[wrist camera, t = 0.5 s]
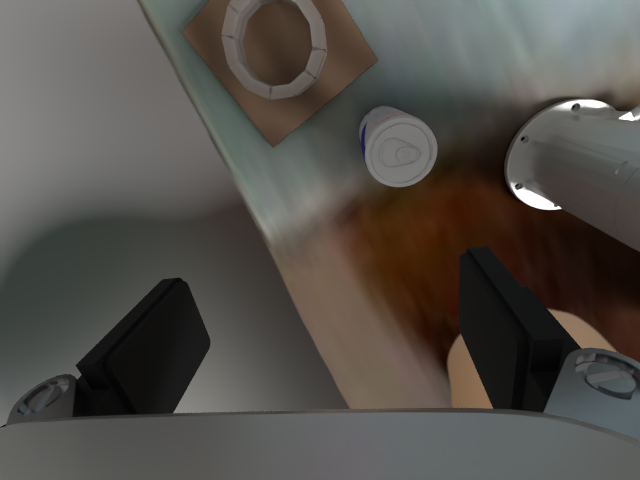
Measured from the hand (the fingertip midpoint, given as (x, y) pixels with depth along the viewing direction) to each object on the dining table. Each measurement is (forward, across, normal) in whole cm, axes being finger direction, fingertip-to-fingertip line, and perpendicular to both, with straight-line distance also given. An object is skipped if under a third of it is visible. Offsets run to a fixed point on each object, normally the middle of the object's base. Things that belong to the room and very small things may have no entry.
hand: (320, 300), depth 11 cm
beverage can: (+32, -5, -1) cm, 32 cm away
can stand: (+31, +6, -12) cm, 34 cm away
